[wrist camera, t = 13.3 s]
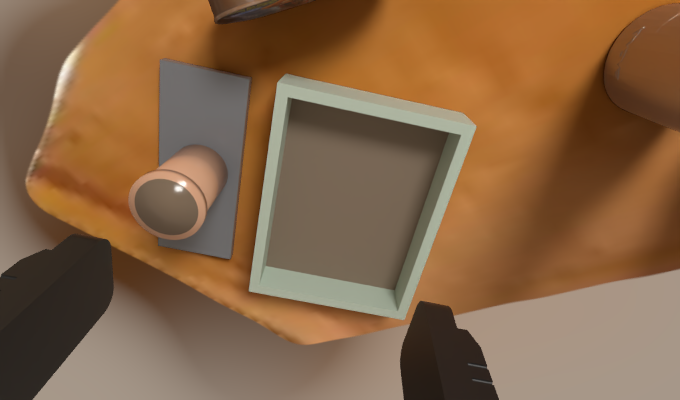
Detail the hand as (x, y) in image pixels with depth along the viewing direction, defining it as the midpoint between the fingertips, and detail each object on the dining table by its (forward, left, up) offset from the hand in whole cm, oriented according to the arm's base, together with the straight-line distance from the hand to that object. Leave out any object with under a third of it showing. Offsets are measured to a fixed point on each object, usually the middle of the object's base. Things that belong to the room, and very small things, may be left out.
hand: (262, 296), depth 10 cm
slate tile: (+11, +11, -30) cm, 33 cm away
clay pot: (+11, +11, -29) cm, 32 cm away
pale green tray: (-5, +11, -30) cm, 32 cm away
